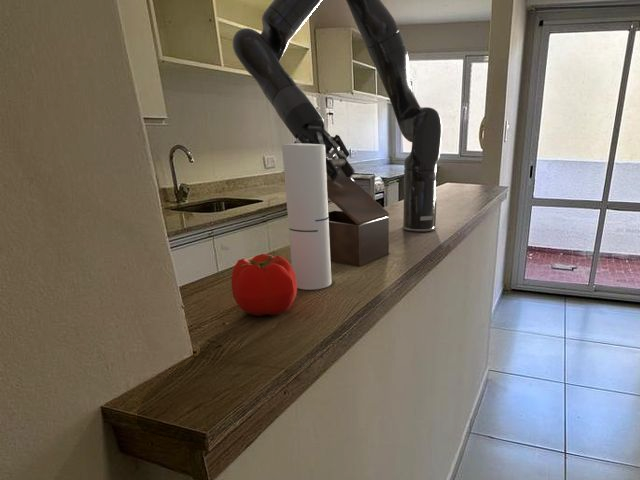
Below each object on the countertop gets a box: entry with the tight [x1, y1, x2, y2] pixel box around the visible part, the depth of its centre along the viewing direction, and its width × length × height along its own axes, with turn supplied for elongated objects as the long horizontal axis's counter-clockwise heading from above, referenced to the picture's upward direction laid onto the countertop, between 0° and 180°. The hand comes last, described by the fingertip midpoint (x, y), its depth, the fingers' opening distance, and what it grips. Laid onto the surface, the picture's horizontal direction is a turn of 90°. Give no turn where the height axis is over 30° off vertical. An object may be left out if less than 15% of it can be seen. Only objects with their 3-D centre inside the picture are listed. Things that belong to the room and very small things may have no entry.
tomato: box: [230, 253, 298, 317], centre depth 71 cm, size 11×11×9 cm
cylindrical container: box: [281, 142, 333, 291], centre depth 81 cm, size 7×7×25 cm
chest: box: [328, 209, 390, 267], centre depth 104 cm, size 16×13×9 cm
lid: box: [326, 158, 390, 225], centre depth 98 cm, size 16×13×5 cm
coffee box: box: [350, 174, 376, 201], centre depth 119 cm, size 9×6×16 cm
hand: (343, 175), depth 98 cm, fingers closed on lid, 5 cm apart
